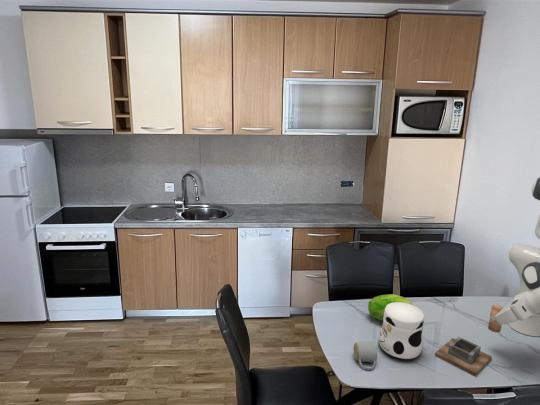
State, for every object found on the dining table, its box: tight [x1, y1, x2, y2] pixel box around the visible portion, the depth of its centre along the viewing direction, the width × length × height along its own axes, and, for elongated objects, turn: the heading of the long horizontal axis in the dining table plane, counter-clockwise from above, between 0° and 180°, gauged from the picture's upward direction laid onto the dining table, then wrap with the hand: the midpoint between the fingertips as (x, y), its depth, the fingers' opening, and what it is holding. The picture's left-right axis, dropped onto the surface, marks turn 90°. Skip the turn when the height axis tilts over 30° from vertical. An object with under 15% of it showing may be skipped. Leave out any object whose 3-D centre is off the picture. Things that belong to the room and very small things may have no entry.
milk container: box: [378, 302, 425, 360], centre depth 161 cm, size 17×17×18 cm
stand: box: [434, 336, 492, 377], centre depth 159 cm, size 16×16×6 cm
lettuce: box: [367, 293, 413, 322], centre depth 185 cm, size 13×23×12 cm, turn 103°
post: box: [487, 304, 504, 333], centre depth 160 cm, size 4×4×10 cm
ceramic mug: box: [353, 340, 378, 371], centre depth 154 cm, size 11×8×8 cm
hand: (494, 316), depth 161 cm, fingers closed on post, 4 cm apart
